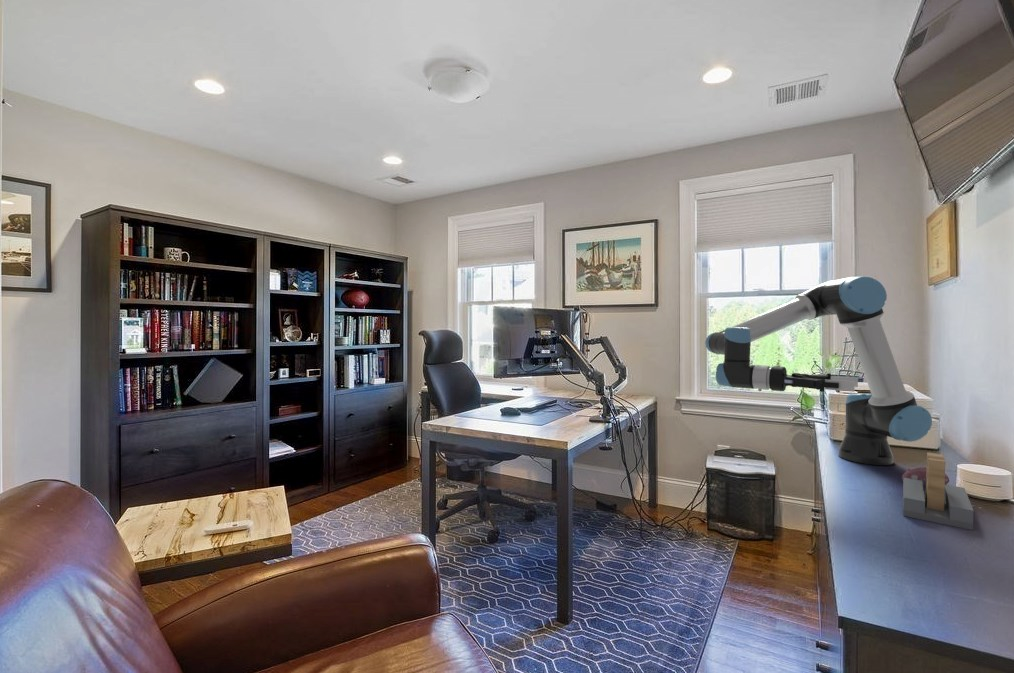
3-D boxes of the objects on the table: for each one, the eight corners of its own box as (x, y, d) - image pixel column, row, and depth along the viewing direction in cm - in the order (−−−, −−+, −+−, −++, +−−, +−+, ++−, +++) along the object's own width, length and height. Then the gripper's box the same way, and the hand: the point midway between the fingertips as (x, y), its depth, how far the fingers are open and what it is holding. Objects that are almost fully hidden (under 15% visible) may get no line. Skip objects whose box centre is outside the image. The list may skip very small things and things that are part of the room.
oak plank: (925, 497, 121) (927, 452, 121) (941, 500, 119) (942, 454, 119) (927, 507, 114) (928, 459, 114) (943, 510, 112) (945, 461, 112)
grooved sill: (903, 493, 128) (903, 477, 128) (963, 504, 120) (964, 487, 120) (903, 515, 113) (903, 497, 113) (972, 530, 105) (973, 510, 105)
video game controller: (903, 489, 136) (907, 471, 133) (900, 478, 140) (903, 460, 137) (948, 495, 132) (953, 476, 129) (943, 484, 135) (948, 465, 132)
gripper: (778, 386, 153) (858, 392, 139) (761, 394, 134) (852, 402, 120) (778, 363, 153) (859, 368, 139) (761, 368, 134) (853, 374, 120)
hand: (856, 384), depth 130 cm, fingers open, 13 cm apart
